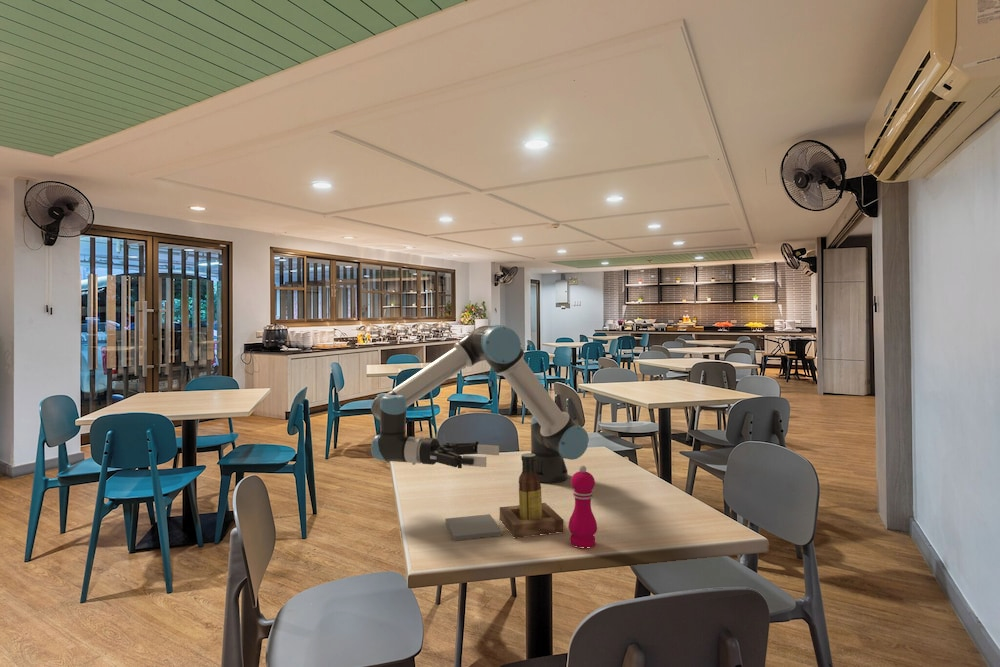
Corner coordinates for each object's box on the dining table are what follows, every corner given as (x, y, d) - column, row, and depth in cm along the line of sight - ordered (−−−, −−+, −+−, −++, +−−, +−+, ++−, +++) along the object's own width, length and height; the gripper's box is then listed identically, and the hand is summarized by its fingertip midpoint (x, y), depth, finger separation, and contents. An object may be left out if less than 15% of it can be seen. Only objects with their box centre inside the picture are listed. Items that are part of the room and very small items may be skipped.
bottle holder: (545, 514, 155) (545, 502, 155) (563, 532, 141) (563, 519, 141) (499, 519, 151) (499, 507, 151) (513, 538, 138) (513, 524, 138)
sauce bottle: (544, 523, 148) (544, 453, 148) (538, 531, 142) (539, 458, 142) (522, 520, 150) (522, 451, 150) (515, 528, 144) (515, 456, 144)
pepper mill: (596, 550, 130) (597, 470, 130) (567, 548, 131) (567, 468, 131) (597, 539, 137) (597, 462, 137) (569, 537, 138) (569, 461, 138)
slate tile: (489, 518, 152) (489, 514, 152) (501, 535, 139) (501, 531, 139) (445, 522, 148) (445, 518, 148) (453, 540, 136) (453, 536, 136)
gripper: (438, 453, 166) (503, 458, 161) (404, 474, 142) (479, 481, 137) (438, 430, 166) (503, 434, 161) (405, 447, 142) (480, 452, 137)
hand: (492, 456), depth 149 cm, fingers open, 13 cm apart
